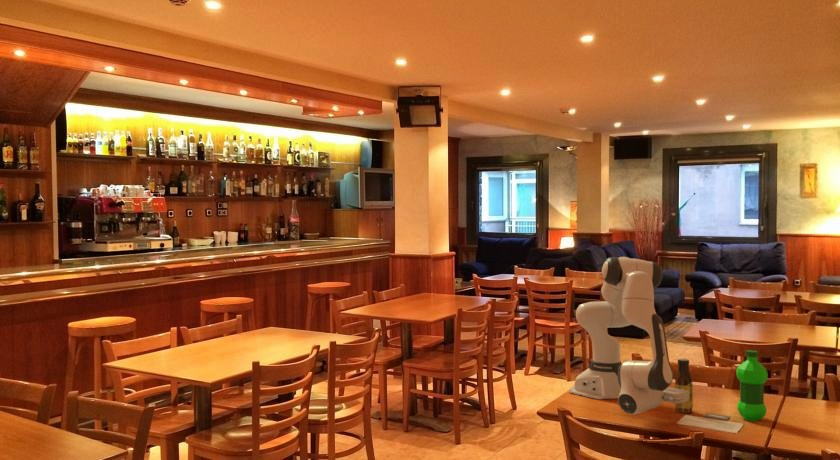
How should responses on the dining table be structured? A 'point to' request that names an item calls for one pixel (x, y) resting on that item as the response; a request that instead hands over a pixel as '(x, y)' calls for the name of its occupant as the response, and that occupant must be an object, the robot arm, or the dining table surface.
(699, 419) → the paper
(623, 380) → the robot arm
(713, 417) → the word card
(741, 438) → the dining table surface
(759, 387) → the plastic bottle
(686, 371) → the sauce bottle
